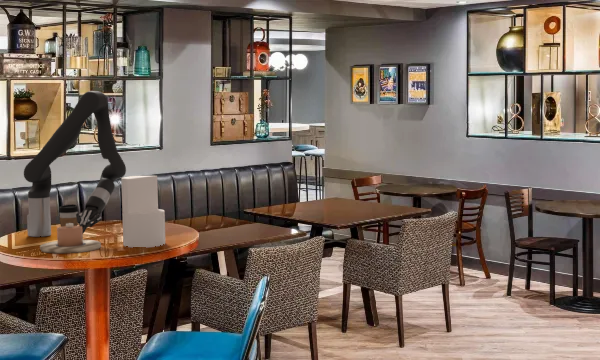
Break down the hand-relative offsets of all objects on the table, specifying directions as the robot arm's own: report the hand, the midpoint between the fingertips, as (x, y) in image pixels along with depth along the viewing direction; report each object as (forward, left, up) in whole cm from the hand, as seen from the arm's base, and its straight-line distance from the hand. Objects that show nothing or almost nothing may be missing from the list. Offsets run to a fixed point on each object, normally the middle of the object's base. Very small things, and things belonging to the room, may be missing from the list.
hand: (79, 233), depth 344 cm
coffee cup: (-13, +13, -5) cm, 19 cm away
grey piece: (+24, +11, -5) cm, 27 cm away
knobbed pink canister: (-1, -6, -4) cm, 7 cm away
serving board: (-1, -5, -5) cm, 7 cm away
